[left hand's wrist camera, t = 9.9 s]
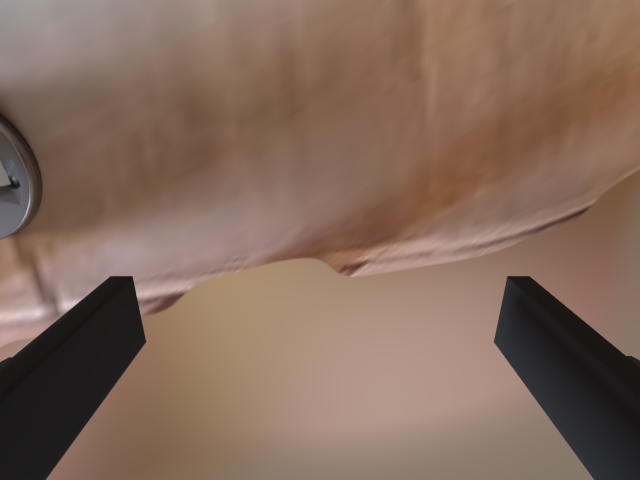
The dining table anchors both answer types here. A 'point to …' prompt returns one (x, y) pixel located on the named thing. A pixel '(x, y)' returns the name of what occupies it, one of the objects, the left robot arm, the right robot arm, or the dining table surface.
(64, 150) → the dining table surface
